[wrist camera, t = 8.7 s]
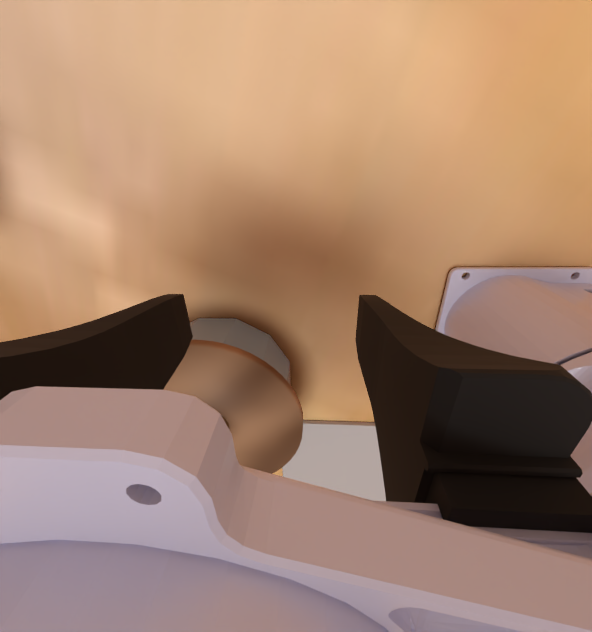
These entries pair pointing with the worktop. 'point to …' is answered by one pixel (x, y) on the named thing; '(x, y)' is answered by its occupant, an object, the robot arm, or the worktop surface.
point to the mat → (339, 458)
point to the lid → (244, 401)
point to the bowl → (242, 340)
